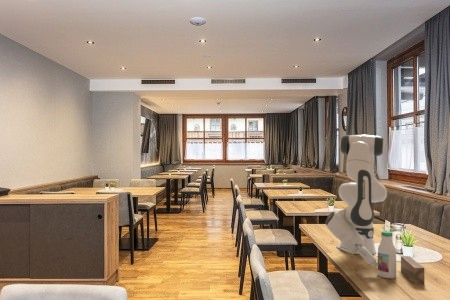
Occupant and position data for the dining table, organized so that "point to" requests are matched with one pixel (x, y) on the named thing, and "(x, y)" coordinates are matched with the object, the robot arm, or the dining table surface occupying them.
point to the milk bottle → (386, 256)
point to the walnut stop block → (412, 270)
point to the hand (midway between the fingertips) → (376, 264)
